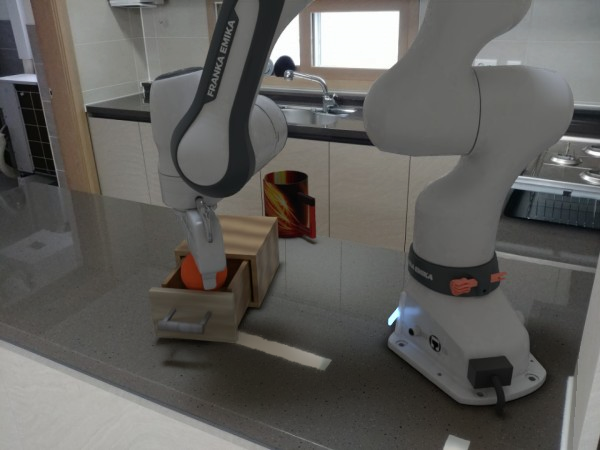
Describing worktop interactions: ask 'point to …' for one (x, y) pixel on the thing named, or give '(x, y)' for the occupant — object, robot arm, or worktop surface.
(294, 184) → the mug
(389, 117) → the robot arm
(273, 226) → the cabinet
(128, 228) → the worktop surface
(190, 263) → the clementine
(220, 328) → the drawer
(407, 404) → the worktop surface
